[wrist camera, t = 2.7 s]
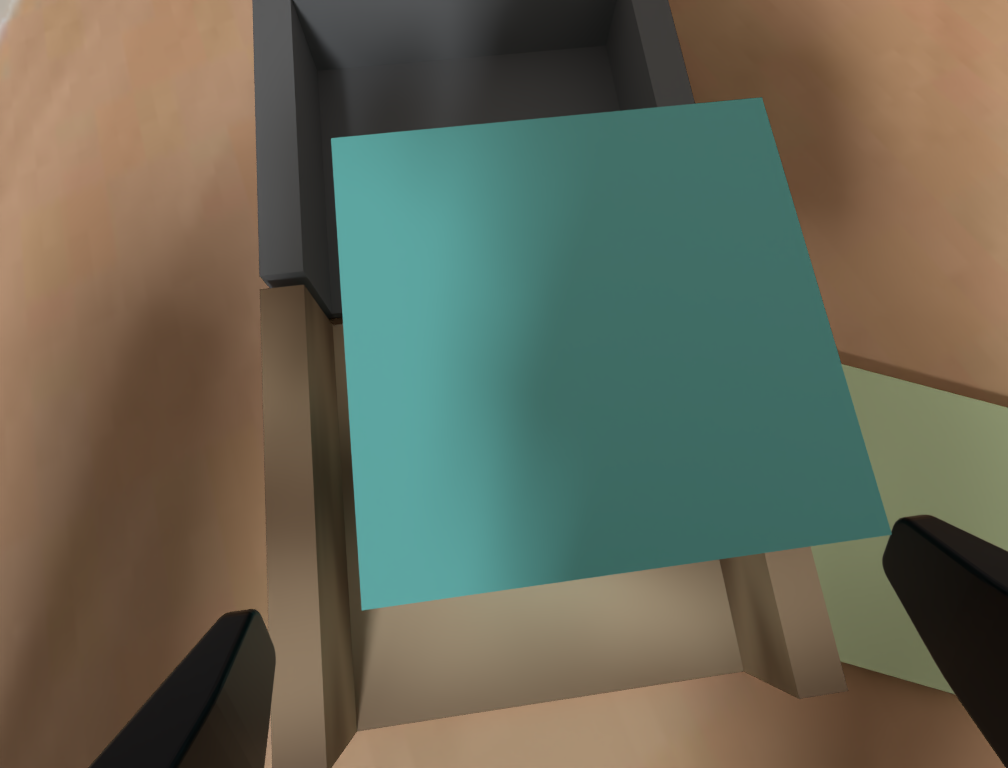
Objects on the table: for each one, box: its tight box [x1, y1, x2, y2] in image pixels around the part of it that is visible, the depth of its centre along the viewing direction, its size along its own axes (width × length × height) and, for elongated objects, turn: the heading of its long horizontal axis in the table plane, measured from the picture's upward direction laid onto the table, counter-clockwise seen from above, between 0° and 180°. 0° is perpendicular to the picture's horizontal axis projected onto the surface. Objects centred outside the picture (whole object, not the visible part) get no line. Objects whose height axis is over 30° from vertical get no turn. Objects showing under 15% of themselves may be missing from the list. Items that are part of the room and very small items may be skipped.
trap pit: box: [252, 0, 695, 319], centre depth 20 cm, size 11×13×4 cm
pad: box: [811, 364, 1008, 694], centre depth 18 cm, size 9×9×1 cm
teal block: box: [331, 97, 892, 610], centre depth 12 cm, size 5×5×12 cm
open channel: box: [260, 285, 848, 768], centre depth 17 cm, size 12×13×4 cm
